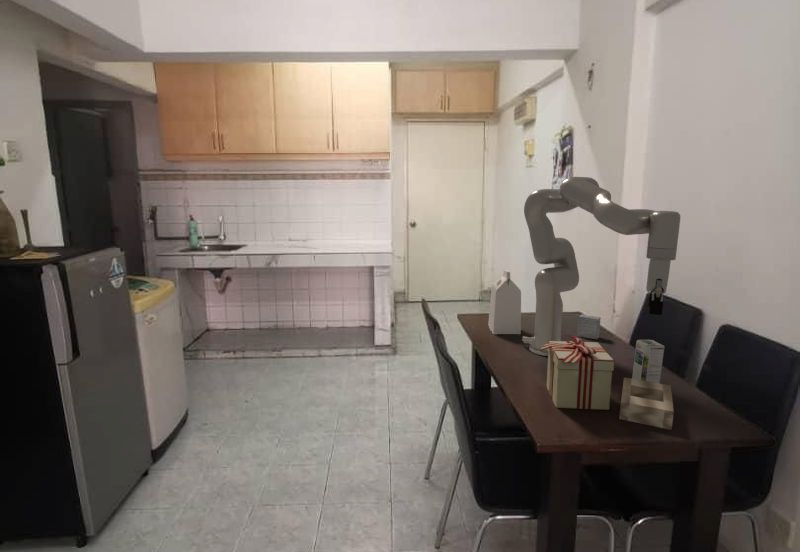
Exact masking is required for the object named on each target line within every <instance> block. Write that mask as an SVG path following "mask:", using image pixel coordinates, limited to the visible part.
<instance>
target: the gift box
mask: <svg viewBox="0 0 800 552" xmlns="http://www.w3.org/2000/svg"><path fill="white" fill-rule="evenodd" d="M569 338H570V339H573V340H569V341H568V340H567V341H566V340H565V341H563V340H560V341H548V343H546V344H545V345H544V346H543V347H542V348H541V349H539V350H544V349H547V351H548V356H547V370H546V371H547V373H546V385H545V386H546V388H547V392H548V395H549V396H550V398H551V401H552V402H553V405H554V406H555V408H556V409H572V410H573V409H575V410H593V411H594V410H596V411H597V410H598V411H599V410H600V411H610V402H611V391H612V389H611V388H612V379H613V378H612V377H613V372H614V369H615V360H614V359H613V357H611V355H610V354H609V353H608V352H607V351H606V349H604V347H602V345H601V344H600V343H599V342H597V341H596V342H595V341H584V340H583V339H581V338H580V337H577V336H574V335H570V336H569Z"/></svg>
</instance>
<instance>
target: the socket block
mask: <svg viewBox="0 0 800 552" xmlns="http://www.w3.org/2000/svg"><path fill="white" fill-rule="evenodd" d="M621 392H622V393H621V399H620V400H621V401H620V409H619V420H623V421H626V422H633V423H638V424H642V425H645V426H646V425H647V426H651V427H656V428H660V429H664V430H670V431H672V428H673V421H674V412H675V411H674V402H673V395H672V394H673V393H672V385H670V384H665V383H663V384H662V383H660V384H659V383H654V382H648V381H642V380H636V379H632V377H631V378H630V377H623V384H622V391H621Z"/></svg>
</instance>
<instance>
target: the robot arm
mask: <svg viewBox="0 0 800 552" xmlns="http://www.w3.org/2000/svg"><path fill="white" fill-rule="evenodd" d="M576 208H579V209H582V210H584V211H586V212H588V213H590V214H592V215H593V217H594V218H595V220H597V222H598V223H600V224H601V225H602V226H604V227H606V228H608V229H610V230H612V231H614V232H615V233H618V234H619V235H624V236H633V235H647V234H648V239H647V247H646V259H649V264H648V270H647V280H646V287H645V288H646V292H647V293H649V298H648V307H649V311H648V314H649V315H655V316H661V315H662V314H663V309H664V308H663V306H664V295H665V294H666V292H667V288H668V282H669V277H670V268H671V262H672V261H676V259H677V251H678V242H679V241H678V240H679V234H680V225H681V214H680V213H679V212H678V211H673V210H671V211H670V210H654V209H653V210H652V209H647V208H638V209H637V208H635V209H633V208H632V209H629V208H626V207H624V206H621V205H619V204H617V203H616V202H613V201H612V194H611V192H610V191H608V190H606V189H605V188H602V187H600V185H599V182H598V181H597V180H596V179H594V178H592V177H587V176H571V177H567V178H566V179H564V180H563V181H562V183H560V186H559V189H558V188H556V189H554V188H542V189H537V190H534V191H533V192H532V193H530V194H529V195H528V196H527V198H526V200H525V202H524V207H523V213H524V218H525V221H526V225H527V228H528V232H529V237H530V242H531V243H530V244H531V248H532V252H533V253H532V255H533V257H534V260H535V262H536V263H538V265H539V264H540V265H552V264H553V266H552V267H545V268H543V269H541V270H540V271H539V272H537V273H536V275H535V278H534V288H535V317H534V332H533V334H534V335H533V336H531V337H529V336H524V335H523V336H522V339H521V341H522V342H523V343H524V344H529V346H528V350H529V351H530V352H531V353H533V354H535V355H538V356H544V357H548V351H547V349H544V350H539V349H541V348H542V347H543V346H544V345H545V344H546V343H548V341H562V340H561V338H562V337H561V336H562V327H563V325H562V324H563V313H564V312H563V311H564V302H563V300H562V296H561V293H564V292H570V291H573V290H575V289H576V288H577V287H578V285H579V282H580V274H579V269H578V263H577V259H576V253H575V249H574V247H573V245H572V243H571V242H570V241H569V240H568V239H566V238H564V237H556V236H555V232H554V226H553V224H552V222H551V220H550V219H549V217H548V216H547V214H549V213H550V214H552V213H559V214H560V213H565V212H568V211H572V210H574V209H576Z"/></svg>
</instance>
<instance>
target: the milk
mask: <svg viewBox="0 0 800 552" xmlns="http://www.w3.org/2000/svg"><path fill="white" fill-rule="evenodd" d="M487 325H488V326H489V327H488V326H487V327H488V328H489V330H490V332H491V331H492V332H491V333H492V335H497V334H522V333H521V332H522V291H521V289H520V288H519V286H518V285H517V284H516V283H515V282H514V281H513V280H512V279H511V271H510V270H509V269H503V273H502V276H501V277H499V278H498V279H497V280H496V281H495V282H493V284H492V285H491V289H490V301H489V310H488V323H487Z"/></svg>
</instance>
